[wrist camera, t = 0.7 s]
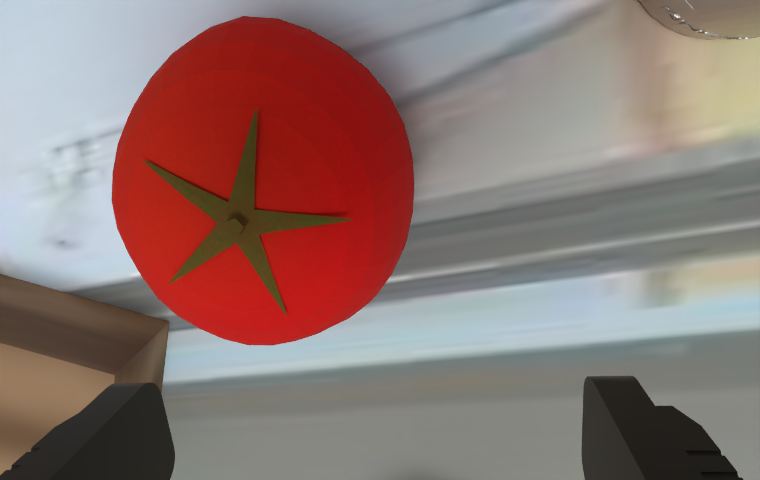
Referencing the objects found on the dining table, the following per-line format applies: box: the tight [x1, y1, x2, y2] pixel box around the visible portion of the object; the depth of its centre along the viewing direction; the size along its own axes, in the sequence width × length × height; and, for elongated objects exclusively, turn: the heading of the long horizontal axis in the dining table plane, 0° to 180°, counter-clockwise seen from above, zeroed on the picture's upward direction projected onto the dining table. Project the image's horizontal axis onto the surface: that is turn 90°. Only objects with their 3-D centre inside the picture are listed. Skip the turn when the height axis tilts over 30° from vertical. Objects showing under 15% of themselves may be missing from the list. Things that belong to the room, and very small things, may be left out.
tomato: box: [112, 16, 414, 345], centre depth 23 cm, size 14×13×10 cm
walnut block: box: [0, 274, 169, 475], centre depth 31 cm, size 12×12×6 cm
